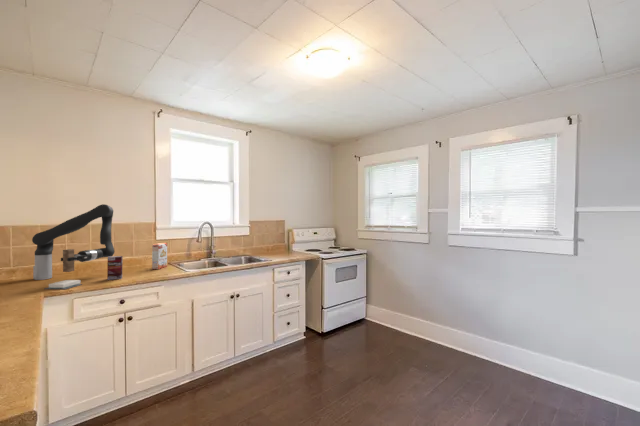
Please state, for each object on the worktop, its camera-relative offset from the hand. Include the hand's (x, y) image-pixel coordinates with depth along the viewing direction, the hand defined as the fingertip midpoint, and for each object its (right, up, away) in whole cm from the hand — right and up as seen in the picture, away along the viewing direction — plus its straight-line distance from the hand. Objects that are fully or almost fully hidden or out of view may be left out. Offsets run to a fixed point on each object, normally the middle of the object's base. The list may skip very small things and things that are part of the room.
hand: (64, 259), depth 192 cm
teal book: (+1, -16, +6) cm, 17 cm away
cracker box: (+26, -17, +65) cm, 72 cm away
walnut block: (0, -8, +3) cm, 8 cm away
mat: (0, -17, -1) cm, 17 cm away
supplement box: (+17, -17, +22) cm, 33 cm away
